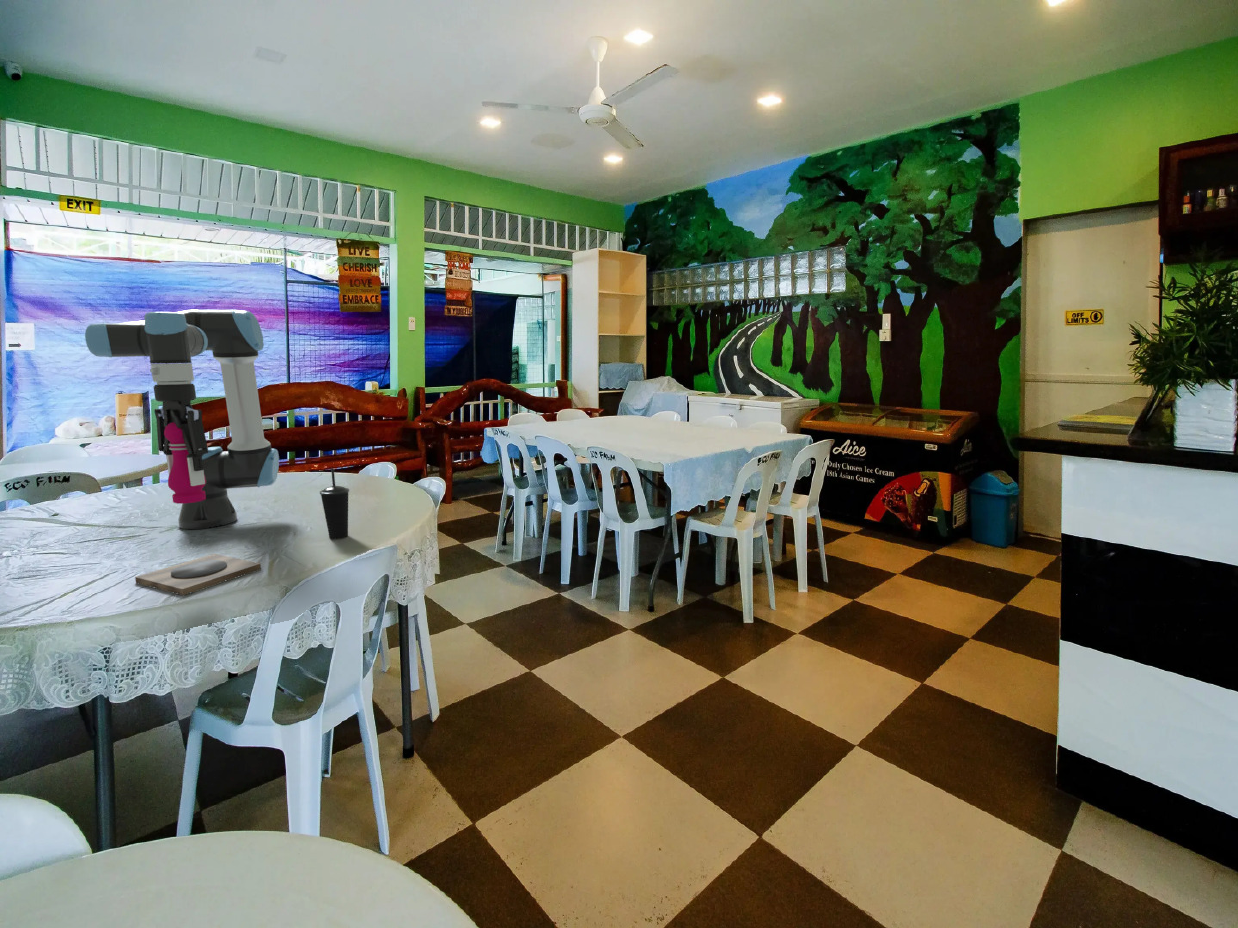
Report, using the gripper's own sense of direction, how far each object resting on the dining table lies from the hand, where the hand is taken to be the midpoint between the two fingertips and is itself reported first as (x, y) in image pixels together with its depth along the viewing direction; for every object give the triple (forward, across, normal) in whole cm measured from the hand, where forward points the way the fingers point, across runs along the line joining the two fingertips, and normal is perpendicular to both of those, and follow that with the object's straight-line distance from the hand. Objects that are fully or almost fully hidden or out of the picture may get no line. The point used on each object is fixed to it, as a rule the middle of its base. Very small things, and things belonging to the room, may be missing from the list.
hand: (187, 483), depth 141 cm
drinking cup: (+23, +4, +36) cm, 43 cm away
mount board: (+23, 0, 0) cm, 23 cm away
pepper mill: (+4, 0, 0) cm, 4 cm away
